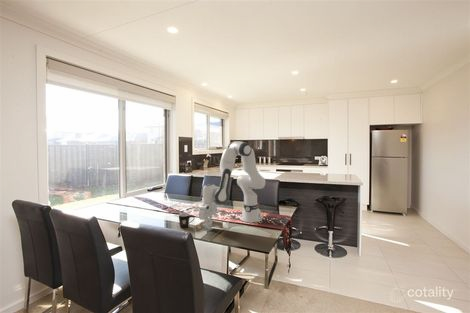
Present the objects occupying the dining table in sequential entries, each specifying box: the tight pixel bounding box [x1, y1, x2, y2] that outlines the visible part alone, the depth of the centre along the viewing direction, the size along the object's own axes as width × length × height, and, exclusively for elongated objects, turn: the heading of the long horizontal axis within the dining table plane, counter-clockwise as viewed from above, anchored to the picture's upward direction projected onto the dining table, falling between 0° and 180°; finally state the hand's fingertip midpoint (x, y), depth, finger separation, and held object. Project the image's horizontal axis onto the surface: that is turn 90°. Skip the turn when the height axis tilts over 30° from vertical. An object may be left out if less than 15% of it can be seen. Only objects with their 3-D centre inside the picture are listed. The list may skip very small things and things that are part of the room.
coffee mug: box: [178, 212, 195, 229], centre depth 186 cm, size 12×9×10 cm
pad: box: [201, 227, 214, 232], centre depth 183 cm, size 6×7×1 cm
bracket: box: [202, 218, 214, 229], centre depth 182 cm, size 7×5×6 cm
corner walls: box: [193, 220, 224, 232], centre depth 182 cm, size 17×16×4 cm
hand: (208, 222), depth 184 cm, fingers open, 2 cm apart
